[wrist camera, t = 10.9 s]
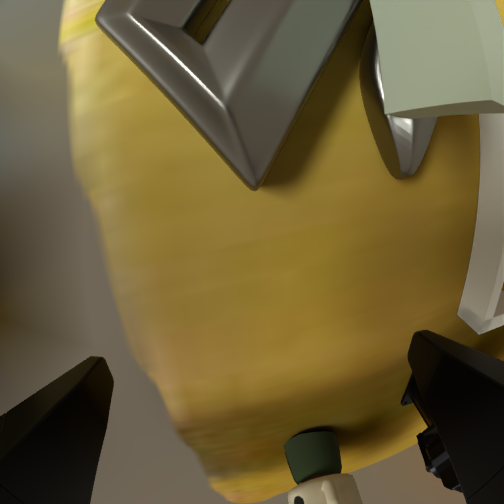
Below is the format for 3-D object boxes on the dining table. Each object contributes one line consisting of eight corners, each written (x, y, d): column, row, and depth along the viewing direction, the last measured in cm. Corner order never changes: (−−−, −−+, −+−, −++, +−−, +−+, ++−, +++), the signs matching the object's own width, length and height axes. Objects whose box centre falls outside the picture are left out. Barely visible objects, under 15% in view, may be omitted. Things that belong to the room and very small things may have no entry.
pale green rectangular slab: (413, 118, 13) (520, 113, 6) (384, 114, 13) (491, 100, 6) (385, -37, 9) (445, -90, 2) (357, -44, 9) (412, -107, 2)
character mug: (276, 420, 26) (294, 530, 14) (342, 407, 26) (380, 508, 14) (281, 464, 30) (294, 547, 18) (334, 454, 30) (358, 533, 18)
